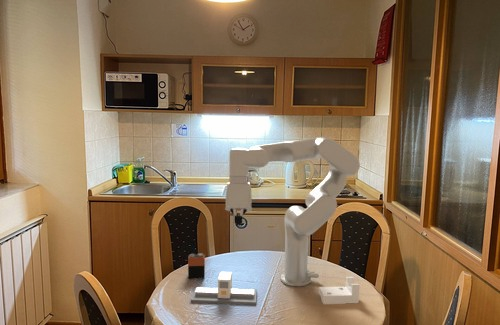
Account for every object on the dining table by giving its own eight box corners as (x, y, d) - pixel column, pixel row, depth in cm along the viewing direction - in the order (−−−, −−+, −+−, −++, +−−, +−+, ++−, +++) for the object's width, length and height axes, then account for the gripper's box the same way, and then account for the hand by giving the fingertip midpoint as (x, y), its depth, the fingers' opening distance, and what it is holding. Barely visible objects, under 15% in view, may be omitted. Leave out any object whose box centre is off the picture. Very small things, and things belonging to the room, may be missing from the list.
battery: (204, 278, 157) (204, 255, 156) (188, 279, 157) (188, 256, 155) (204, 274, 162) (204, 252, 160) (188, 274, 161) (188, 252, 160)
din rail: (253, 293, 143) (253, 289, 143) (253, 297, 139) (253, 294, 139) (196, 291, 144) (196, 287, 144) (195, 295, 140) (195, 291, 140)
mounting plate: (256, 292, 146) (256, 289, 146) (255, 304, 136) (255, 302, 136) (195, 289, 147) (195, 287, 147) (190, 302, 137) (190, 299, 137)
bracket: (351, 295, 146) (352, 276, 145) (358, 304, 139) (359, 284, 138) (318, 295, 145) (319, 277, 144) (323, 304, 138) (324, 285, 137)
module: (231, 289, 145) (232, 271, 144) (229, 299, 137) (229, 280, 136) (220, 289, 145) (220, 271, 144) (217, 298, 138) (217, 280, 137)
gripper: (258, 178, 150) (257, 222, 153) (221, 177, 151) (220, 221, 153) (257, 181, 143) (256, 228, 145) (218, 180, 144) (218, 227, 146)
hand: (238, 224), depth 149 cm, fingers closed
